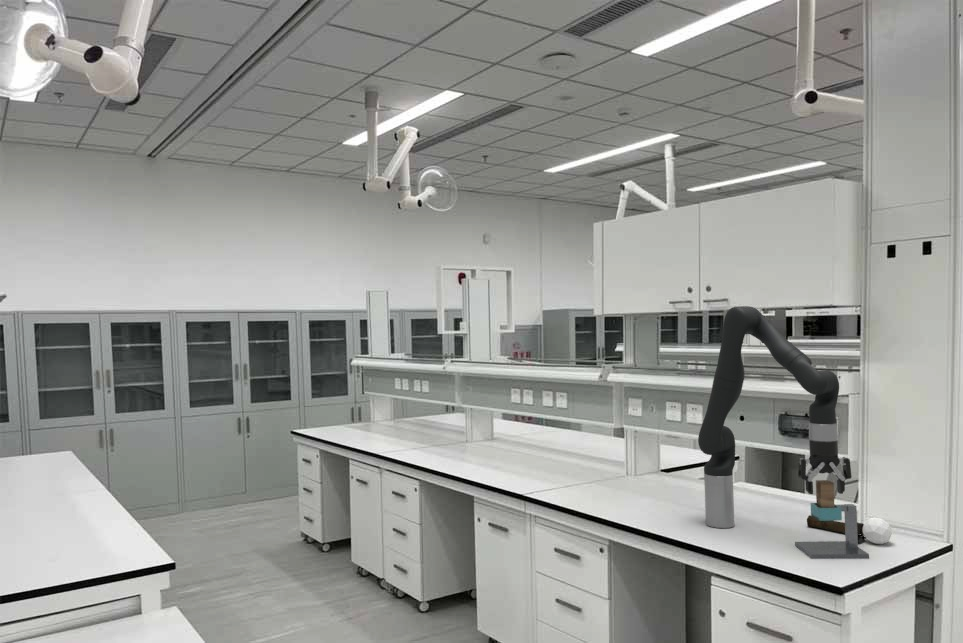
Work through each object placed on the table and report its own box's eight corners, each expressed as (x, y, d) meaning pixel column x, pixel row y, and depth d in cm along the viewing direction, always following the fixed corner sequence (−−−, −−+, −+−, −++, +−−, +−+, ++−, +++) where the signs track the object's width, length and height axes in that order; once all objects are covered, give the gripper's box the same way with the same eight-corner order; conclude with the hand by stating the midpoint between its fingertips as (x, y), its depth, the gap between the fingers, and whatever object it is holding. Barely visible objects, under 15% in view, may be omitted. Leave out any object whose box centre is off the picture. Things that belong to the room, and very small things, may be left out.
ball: (885, 553, 206) (898, 537, 201) (858, 543, 208) (870, 526, 203) (883, 535, 212) (896, 518, 207) (856, 525, 214) (868, 508, 209)
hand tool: (805, 528, 226) (805, 514, 226) (812, 525, 228) (812, 511, 228) (864, 541, 210) (863, 526, 210) (871, 539, 213) (870, 524, 213)
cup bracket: (795, 545, 207) (793, 500, 208) (849, 545, 206) (847, 500, 206) (811, 558, 195) (809, 510, 196) (869, 558, 194) (867, 510, 194)
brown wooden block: (816, 514, 203) (815, 480, 203) (829, 513, 203) (828, 480, 203) (822, 517, 199) (820, 482, 200) (834, 517, 199) (833, 482, 199)
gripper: (842, 436, 205) (844, 490, 204) (793, 436, 206) (795, 490, 205) (854, 439, 197) (856, 496, 197) (803, 440, 198) (805, 496, 198)
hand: (825, 493), depth 201 cm, fingers open, 8 cm apart
